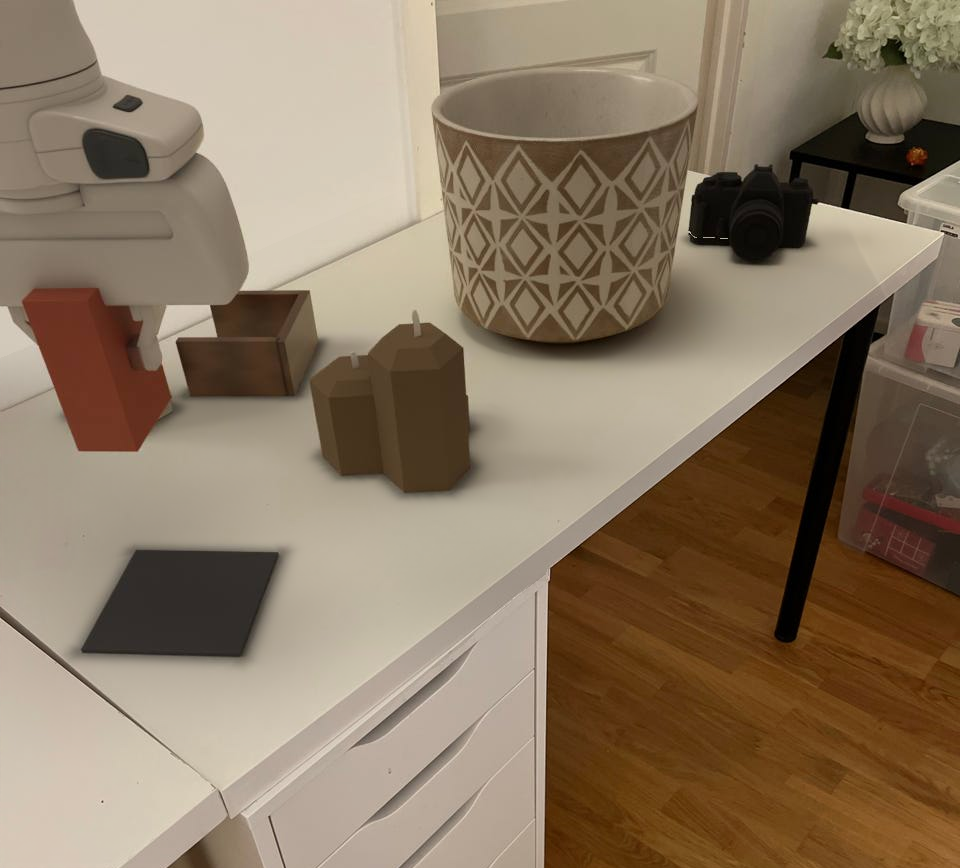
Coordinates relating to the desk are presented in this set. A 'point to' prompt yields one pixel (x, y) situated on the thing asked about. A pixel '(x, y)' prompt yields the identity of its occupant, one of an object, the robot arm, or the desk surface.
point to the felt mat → (183, 604)
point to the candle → (397, 410)
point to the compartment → (253, 346)
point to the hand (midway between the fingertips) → (108, 367)
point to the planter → (563, 197)
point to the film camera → (751, 212)
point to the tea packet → (96, 368)
